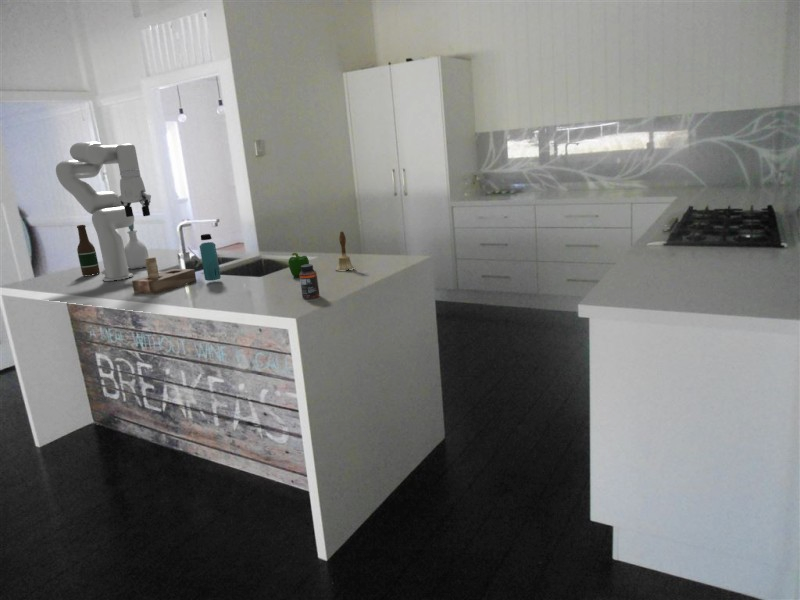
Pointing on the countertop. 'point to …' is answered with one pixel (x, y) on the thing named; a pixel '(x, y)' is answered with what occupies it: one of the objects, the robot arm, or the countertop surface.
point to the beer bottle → (86, 253)
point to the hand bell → (343, 255)
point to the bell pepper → (297, 264)
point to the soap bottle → (135, 251)
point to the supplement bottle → (309, 282)
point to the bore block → (164, 281)
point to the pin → (152, 268)
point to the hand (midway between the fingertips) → (138, 216)
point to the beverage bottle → (209, 259)
